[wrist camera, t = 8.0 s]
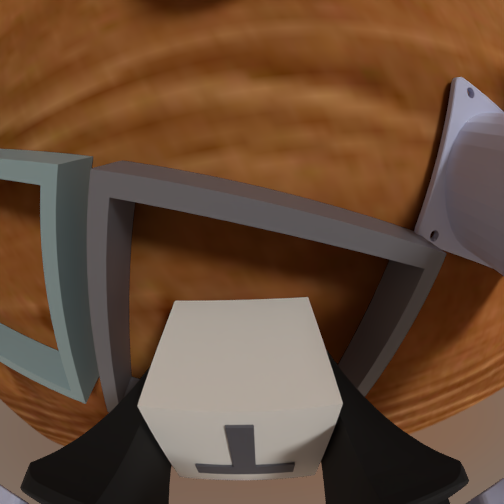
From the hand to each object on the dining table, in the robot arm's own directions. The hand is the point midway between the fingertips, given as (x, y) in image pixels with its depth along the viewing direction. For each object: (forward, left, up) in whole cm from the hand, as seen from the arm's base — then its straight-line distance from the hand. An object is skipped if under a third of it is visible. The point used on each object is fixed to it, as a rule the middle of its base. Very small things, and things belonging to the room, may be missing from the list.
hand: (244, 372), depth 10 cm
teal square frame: (+14, 0, -3) cm, 14 cm away
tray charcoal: (0, 0, -3) cm, 3 cm away
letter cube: (0, 0, -1) cm, 1 cm away
